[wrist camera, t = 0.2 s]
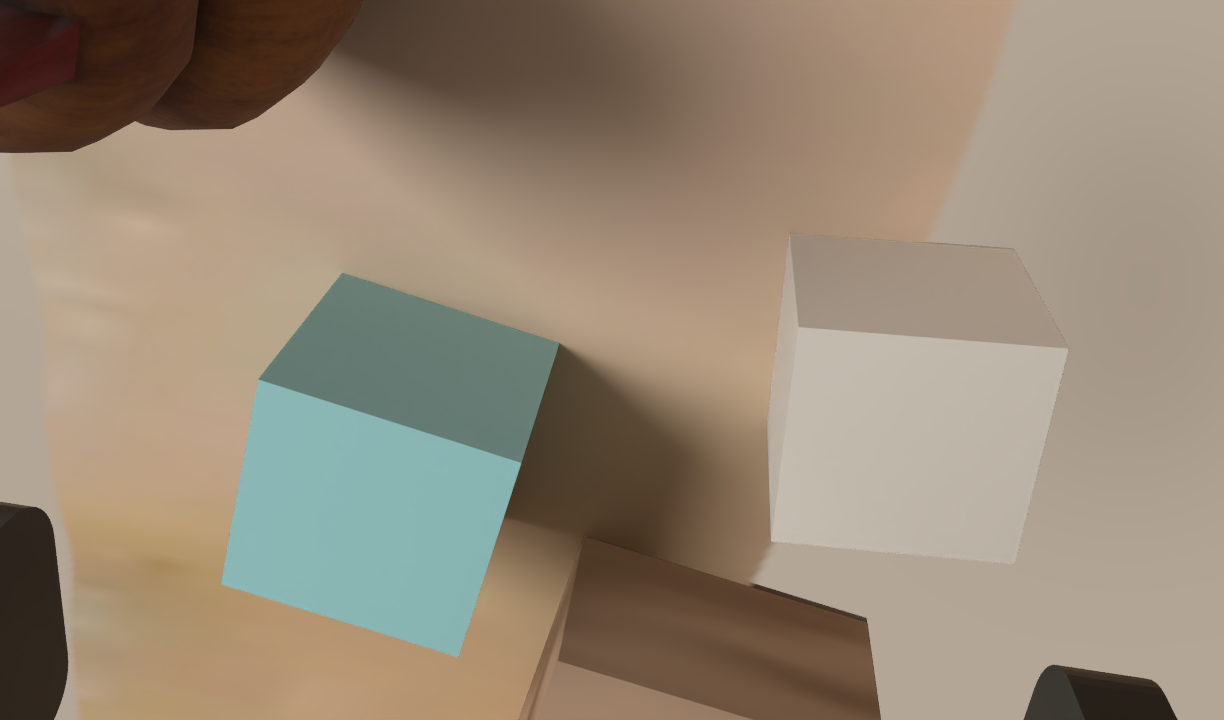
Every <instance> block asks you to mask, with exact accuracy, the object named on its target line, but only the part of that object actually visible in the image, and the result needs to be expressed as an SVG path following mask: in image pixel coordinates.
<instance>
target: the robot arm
mask: <svg viewBox="0 0 1224 720" xmlns="http://www.w3.org/2000/svg"><path fill="white" fill-rule="evenodd" d="M61 600H62V599H61V591H60V583H59V573H58V565H57V556H56V548H55V539H54V532H53V527H52V525H51V521H50V519H49V517H48V516H47V514H46V513H45V512H44V511H43V510H41V509H39V508H37V507H31V506H24V505H18V504H11V503H4V502H0V720H54V718H55V716H56V714H57V711H58V709H59V706H60V703H61V700H62V697H63V694H64V690H65V685H66V680H67V673H68V652H67V643H66V634H65V626H64V617H63V609H62V601H61ZM1024 720H1177V718H1176V716H1175V714H1174V712H1173V710H1172V708H1171V706H1170V704H1169V702H1168V700H1167V698H1166V696H1165V694H1164V693H1163V691H1162V689H1161V688H1160V687H1159V686H1158V685H1157V683H1155V682H1154V681H1152V680H1149V679H1144V678H1138V677H1131V676H1124V675H1118V674H1111V673H1105V672H1098V671H1092V670H1085V669H1078V668H1072V667H1065V666H1059V665H1051V666H1049V667H1047V668H1046V669H1045V670H1044V671H1043V673H1042V674H1041V675H1040V677H1039V679H1038V681H1037V684H1036V686H1035V688H1034V692H1033V694H1032V697H1031V700H1030V703H1029V706H1028V709H1027V712H1026V715H1025V718H1024Z"/></svg>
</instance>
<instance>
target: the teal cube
mask: <svg viewBox="0 0 1224 720" xmlns="http://www.w3.org/2000/svg"><path fill="white" fill-rule="evenodd" d="M558 346H559V343H557V342H554V341H551V340H548V339H545V338H541V337H538V336H535V335H532V334H529V333H526V332H523V331H520V330H517V329H514V328H511V327H508V326H504V325H501V324H498V323H495V322H492V321H489V320H486V319H483V318H480V317H477V316H474V315H470V314H467V313H464V312H461V311H458V310H455V309H452V308H449V307H446V306H443V305H440V304H436V303H433V302H430V301H427V300H424V299H421V298H418V297H415V296H412V295H409V294H406V293H402V292H399V291H396V290H393V289H390V288H387V287H384V286H381V285H378V284H375V283H372V282H369V281H365V280H362V279H359V278H356V277H353V276H350V275H347V274H344V273H342V274H341V275H340V277H339V278H338V279H337V280H336V282H335V283H334V284H333V285H332V287H331V288H330V289H329V290H328V292H327V293H326V294H325V296H324V297H323V298H322V299H321V301H320V302H319V303H318V304H317V306H316V307H315V308H314V309H313V311H312V312H311V313H310V315H309V316H308V317H307V318H306V320H305V321H304V322H303V323H302V325H301V326H300V327H299V328H298V330H297V331H296V332H295V334H294V335H293V336H292V337H291V339H290V340H289V341H288V342H287V344H286V345H285V346H284V347H283V349H282V350H281V351H280V352H279V354H278V355H277V356H276V358H275V359H274V360H273V361H272V363H271V364H270V365H269V366H268V368H267V369H266V370H265V371H264V373H263V374H262V375H261V377H260V378H259V379H258V383H257V389H256V394H255V400H254V405H253V411H252V416H251V422H250V427H249V433H248V438H247V444H246V449H245V455H244V460H243V466H242V471H241V477H240V482H239V488H238V493H237V499H236V504H235V510H234V515H233V521H232V526H231V532H230V537H229V543H228V548H227V554H226V559H225V565H224V570H223V576H222V581H221V584H222V585H225V586H228V587H232V588H235V589H238V590H241V591H245V592H248V593H251V594H254V595H258V596H261V597H264V598H267V599H271V600H274V601H277V602H280V603H284V604H287V605H290V606H293V607H297V608H300V609H303V610H306V611H310V612H313V613H316V614H319V615H323V616H326V617H329V618H332V619H336V620H339V621H342V622H345V623H349V624H352V625H355V626H358V627H362V628H365V629H368V630H372V631H375V632H378V633H381V634H385V635H388V636H391V637H394V638H398V639H401V640H404V641H407V642H411V643H414V644H417V645H420V646H424V647H427V648H430V649H433V650H437V651H440V652H443V653H446V654H450V655H453V656H456V657H459V654H460V650H461V647H462V644H463V641H464V638H465V635H466V632H467V629H468V626H469V623H470V620H471V617H472V614H473V610H474V607H475V604H476V601H477V598H478V595H479V592H480V589H481V586H482V583H483V580H484V577H485V574H486V571H487V567H488V564H489V561H490V558H491V555H492V552H493V549H494V546H495V543H496V540H497V537H498V534H499V531H500V527H501V524H502V521H503V518H504V515H505V512H506V509H507V506H508V503H509V500H510V497H511V494H512V491H513V487H514V484H515V481H516V478H517V475H518V472H519V469H520V466H521V463H522V460H523V457H524V453H525V450H526V447H527V444H528V441H529V438H530V435H531V431H532V428H533V425H534V422H535V419H536V416H537V413H538V409H539V406H540V403H541V400H542V397H543V394H544V391H545V387H546V384H547V381H548V378H549V375H550V372H551V368H552V365H553V362H554V359H555V356H556V353H557V350H558Z"/></svg>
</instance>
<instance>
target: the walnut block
mask: <svg viewBox="0 0 1224 720" xmlns="http://www.w3.org/2000/svg"><path fill="white" fill-rule="evenodd" d="M519 720H881V716H880V710H879V702H878V695H877V688H876V681H875V674H874V666H873V659H872V652H871V645H870V638H869V631H868V624H867V618H865V617H862V616H859V615H855V614H852V613H849V612H846V611H843V610H839V609H836V608H833V607H829V606H826V605H823V604H819V603H816V602H813V601H810V600H807V599H803V598H800V597H797V596H793V595H790V594H787V593H784V592H780V591H777V590H774V589H771V588H767V587H764V586H761V585H758V584H754V583H752V585H751V586H750V587H749V586H746V585H742V584H739V583H736V582H732V581H729V580H726V579H723V578H719V577H716V576H713V575H710V574H706V573H703V572H700V571H696V570H693V569H690V568H687V567H683V566H680V565H677V564H674V563H670V562H667V561H664V560H661V559H657V558H654V557H651V556H647V555H644V554H641V553H638V552H634V551H631V550H628V549H625V548H621V547H618V546H615V545H611V544H608V543H605V542H602V541H598V540H595V539H592V538H589V537H585V536H584V537H583V540H582V543H581V546H580V549H579V551H578V554H577V557H576V560H575V563H574V565H573V568H572V571H571V574H570V577H569V579H568V582H567V585H566V588H565V591H564V593H563V596H562V599H561V602H560V605H559V607H558V610H557V613H556V616H555V619H554V621H553V624H552V627H551V630H550V633H549V635H548V638H547V641H546V644H545V647H544V649H543V652H542V655H541V658H540V661H539V664H538V666H537V669H536V672H535V675H534V678H533V680H532V683H531V686H530V689H529V692H528V694H527V697H526V700H525V703H524V706H523V708H522V711H521V714H520V717H519Z"/></svg>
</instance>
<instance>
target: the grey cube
mask: <svg viewBox="0 0 1224 720" xmlns="http://www.w3.org/2000/svg"><path fill="white" fill-rule="evenodd" d="M1068 352H1069V347H1068V346H1067V344H1066V342H1065V340H1064V338H1063V337H1062V335H1061V333H1060V331H1059V330H1058V328H1057V326H1056V324H1055V322H1054V320H1053V319H1052V317H1051V315H1050V313H1049V311H1048V310H1047V308H1046V306H1045V304H1044V302H1043V301H1042V299H1041V297H1040V295H1039V294H1038V292H1037V290H1036V288H1035V286H1034V284H1033V282H1032V281H1031V279H1030V277H1029V275H1028V273H1027V272H1026V270H1025V268H1024V266H1023V264H1022V263H1021V261H1020V259H1019V257H1018V256H1017V254H1016V252H1015V250H1014V249H1013V248H1003V247H989V246H976V245H962V244H948V243H935V242H927V243H917V242H904V241H890V240H877V239H863V238H849V237H836V236H822V235H808V234H795V233H790V235H789V243H788V251H787V260H786V268H785V277H784V285H783V294H782V302H781V311H780V319H779V327H778V336H777V344H776V353H775V361H774V370H773V378H772V386H771V395H770V403H769V412H768V420H767V430H768V461H769V491H770V522H771V542H780V543H792V544H802V545H812V546H824V547H834V548H845V549H855V550H867V551H877V552H887V553H898V554H909V555H919V556H930V557H941V558H952V559H963V560H973V561H984V562H994V563H1005V564H1015V561H1016V557H1017V554H1018V550H1019V546H1020V541H1021V538H1022V534H1023V530H1024V526H1025V521H1026V518H1027V514H1028V510H1029V506H1030V502H1031V498H1032V494H1033V490H1034V486H1035V482H1036V478H1037V474H1038V470H1039V466H1040V462H1041V458H1042V454H1043V451H1044V447H1045V443H1046V438H1047V435H1048V431H1049V427H1050V423H1051V419H1052V415H1053V411H1054V407H1055V403H1056V399H1057V395H1058V391H1059V387H1060V383H1061V379H1062V375H1063V371H1064V367H1065V363H1066V359H1067V355H1068Z"/></svg>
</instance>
